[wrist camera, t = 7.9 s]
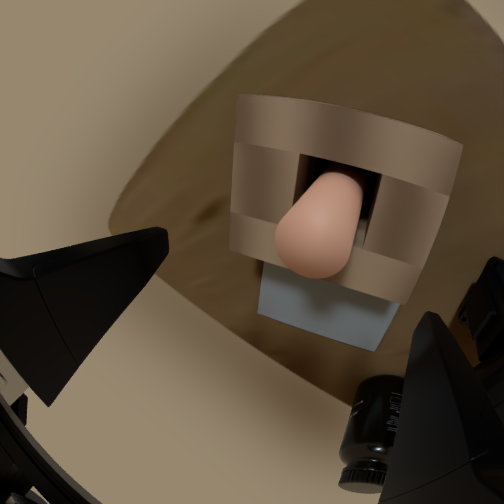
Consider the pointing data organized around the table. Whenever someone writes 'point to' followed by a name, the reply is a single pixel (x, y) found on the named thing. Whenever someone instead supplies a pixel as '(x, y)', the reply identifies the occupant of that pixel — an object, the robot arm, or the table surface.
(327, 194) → the dowel
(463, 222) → the table surface
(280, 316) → the mat
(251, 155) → the socket block
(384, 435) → the supplement bottle
